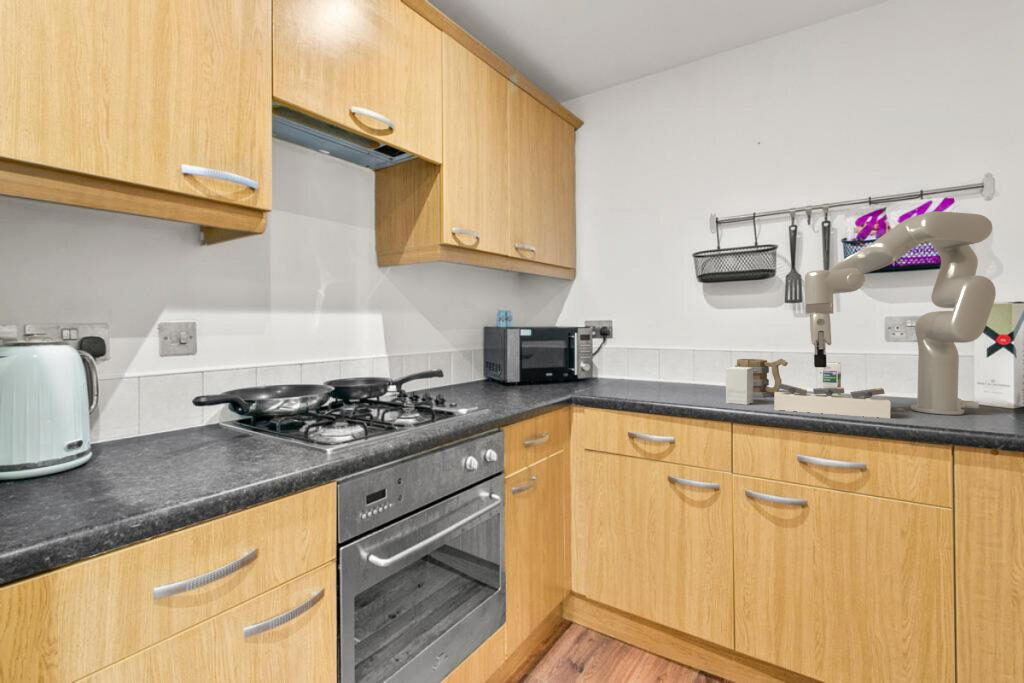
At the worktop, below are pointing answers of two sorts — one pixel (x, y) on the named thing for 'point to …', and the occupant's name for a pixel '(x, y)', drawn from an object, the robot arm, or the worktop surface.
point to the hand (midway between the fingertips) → (820, 367)
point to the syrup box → (830, 376)
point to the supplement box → (739, 385)
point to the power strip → (834, 404)
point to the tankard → (763, 375)
